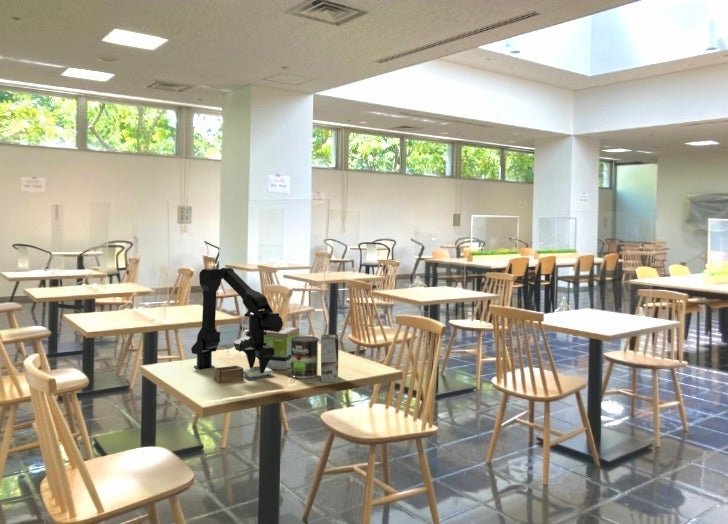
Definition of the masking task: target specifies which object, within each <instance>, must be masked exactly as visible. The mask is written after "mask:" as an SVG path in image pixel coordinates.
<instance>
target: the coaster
mask: <svg viewBox="0 0 728 524" xmlns="http://www.w3.org/2000/svg"><path fill="white" fill-rule="evenodd" d="M271 378H272V379H273V378H277V376H276V375H274V374H273V373H271V374H267V375H266V376H259V377H252V378H249V377H247V376H246V375H244V374H243V380H247V381H248V382H252V381H257V380H259V381H260V380H265V379H271Z"/></svg>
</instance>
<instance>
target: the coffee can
mask: <svg viewBox="0 0 728 524" xmlns="http://www.w3.org/2000/svg"><path fill="white" fill-rule="evenodd" d="M318 349H319V338H318V337H316V336H312V335H311V336H310V335H309V336H308V335H307V336H306V335H305V336H304V335H303V336H302V335H299V336H298V337H293V338H291V366H290V377H292V376H295V377H297V378H296V379H312V378H311V377H313V378H316V377H317V376H318V375H317V374H318V357H319V355H318V354H319V351H318ZM315 376H316V377H315ZM295 377H294V378H295Z"/></svg>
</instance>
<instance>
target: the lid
mask: <svg viewBox="0 0 728 524" xmlns="http://www.w3.org/2000/svg"><path fill="white" fill-rule="evenodd" d="M273 371H274V369H270V368H267V367H266V369H265V371H264V373H260V367H259V365H256V366H255V365H254V366H253V368H250V367H248V368H243V374H244V375H246V376H247V377H249V378H252V377H259V376H266V375H267V374H273Z"/></svg>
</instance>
